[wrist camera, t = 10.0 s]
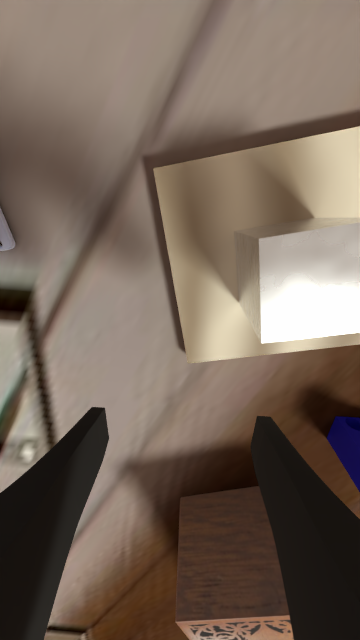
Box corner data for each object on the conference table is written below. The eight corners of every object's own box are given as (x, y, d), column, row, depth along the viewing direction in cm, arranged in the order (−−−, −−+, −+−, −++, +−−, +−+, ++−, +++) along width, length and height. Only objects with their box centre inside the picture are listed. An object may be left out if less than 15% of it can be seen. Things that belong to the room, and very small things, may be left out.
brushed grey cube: (238, 302, 17) (261, 343, 12) (234, 230, 15) (258, 238, 10) (310, 293, 17) (369, 330, 11) (314, 217, 15) (389, 217, 9)
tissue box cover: (180, 494, 29) (175, 621, 20) (299, 477, 27) (355, 611, 18) (227, 587, 39) (238, 701, 30) (317, 580, 36) (360, 701, 27)
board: (188, 355, 20) (187, 363, 19) (155, 172, 15) (153, 168, 14) (357, 336, 19) (367, 343, 18) (390, 124, 14) (408, 116, 12)
